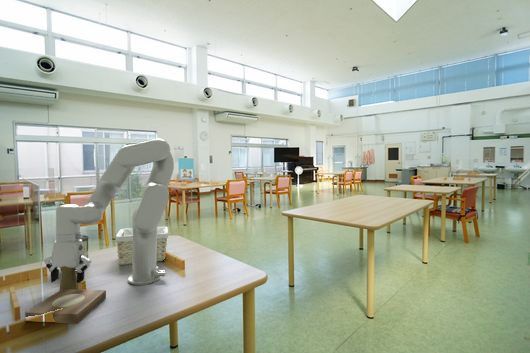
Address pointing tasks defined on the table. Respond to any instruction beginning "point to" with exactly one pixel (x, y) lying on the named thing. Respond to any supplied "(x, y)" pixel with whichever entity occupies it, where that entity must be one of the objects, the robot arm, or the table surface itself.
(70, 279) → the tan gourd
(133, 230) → the robot arm
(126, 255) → the storage basket
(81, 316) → the base
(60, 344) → the table surface
